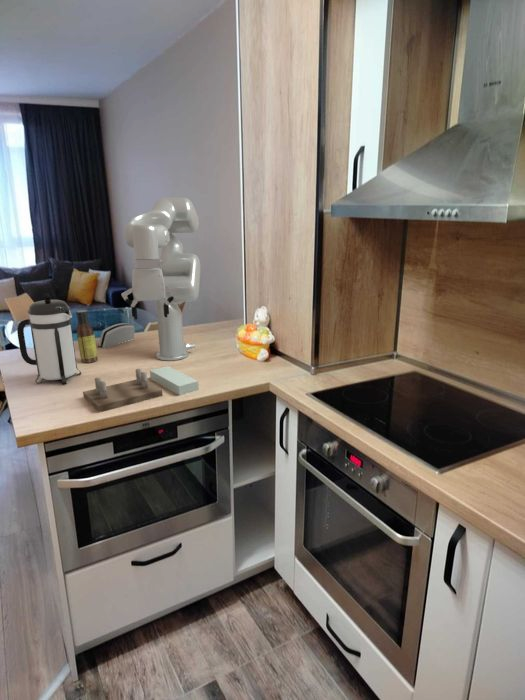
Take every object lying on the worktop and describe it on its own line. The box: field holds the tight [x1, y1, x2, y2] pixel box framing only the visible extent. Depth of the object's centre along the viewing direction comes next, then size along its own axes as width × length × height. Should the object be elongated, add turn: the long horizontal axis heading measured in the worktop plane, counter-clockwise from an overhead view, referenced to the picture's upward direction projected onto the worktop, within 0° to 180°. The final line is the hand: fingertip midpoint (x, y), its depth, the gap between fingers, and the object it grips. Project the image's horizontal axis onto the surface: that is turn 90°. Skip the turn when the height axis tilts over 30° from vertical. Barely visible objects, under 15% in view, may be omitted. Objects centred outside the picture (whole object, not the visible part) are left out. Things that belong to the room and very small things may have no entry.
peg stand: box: [82, 368, 163, 413], centre depth 145 cm, size 20×14×7 cm
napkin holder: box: [96, 322, 136, 349], centre depth 203 cm, size 17×5×10 cm, turn 146°
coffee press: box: [16, 292, 82, 386], centre depth 157 cm, size 17×16×30 cm
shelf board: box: [149, 365, 200, 396], centre depth 156 cm, size 20×7×4 cm, turn 39°
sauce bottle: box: [75, 309, 99, 364], centre depth 178 cm, size 7×6×20 cm
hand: (150, 317), depth 153 cm, fingers open, 9 cm apart
